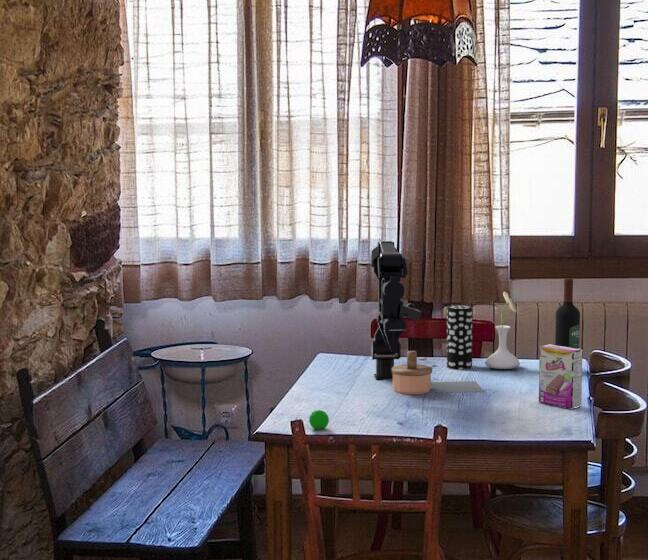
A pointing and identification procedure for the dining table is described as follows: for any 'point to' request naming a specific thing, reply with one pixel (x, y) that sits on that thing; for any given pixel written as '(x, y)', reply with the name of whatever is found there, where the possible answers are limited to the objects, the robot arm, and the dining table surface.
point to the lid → (412, 367)
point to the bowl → (411, 384)
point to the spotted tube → (459, 337)
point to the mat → (457, 386)
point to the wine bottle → (567, 320)
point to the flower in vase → (503, 344)
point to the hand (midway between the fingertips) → (391, 349)
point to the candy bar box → (560, 376)
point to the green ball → (319, 419)
